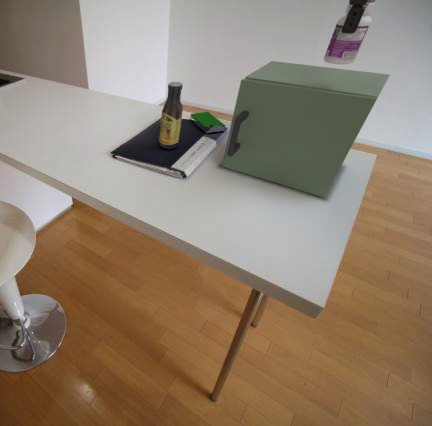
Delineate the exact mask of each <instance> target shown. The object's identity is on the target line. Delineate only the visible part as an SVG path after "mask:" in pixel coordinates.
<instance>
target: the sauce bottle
mask: <svg viewBox="0 0 432 426" xmlns="http://www.w3.org/2000/svg"><path fill="white" fill-rule="evenodd" d="M183 84H184V83H182V82H180V81H170V82H169V83H168V85H167V97H166V100H165V102H164V105H163V107H162V110H161V116H160V127H159V128H160V129H159V137H158V142H160V143H161V144H163V145H173V144H176V143H178V144H179V141H180V135H181V134H180V133H181V128H182V120H183V110H184V106H183V104H182V102H181V98H182V97H181V96H182V90H183Z"/></svg>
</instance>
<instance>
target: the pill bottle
mask: <svg viewBox="0 0 432 426" xmlns="http://www.w3.org/2000/svg"><path fill="white" fill-rule="evenodd" d="M375 5H376V3H375V2H373V3H369V5H368V6H367V7H366V8H363V9H365V11H364V14H363V16H362V18H361V21H360V23H359V25H358V28H357V30H356V31H355V32H354V33H342V28H343V25H344V23H345V20H346V18H347V15H348V13H349V10H350V9H351V8H349V7H350V6H349V3H348V4H347V7H346V9H345V15H343V16H342V17H340V18H339V19H338V20H337V22H336V25H335V27H334V30H333V32H332V35H331V38H330V40H329V43H328V46H327V48H326V51H325V54H324V57H323V61H324V62H325V63H328V64H333V65H349V64H352V63H354V62H355V61H356V59H357V57H358V55H359V52H360V50H361V48H362V45H363V42H364V40H365V38H366V36H367V33H368V32H369V29H370V27H371V25H372V22H373V19H372V17H371V16H369V15H370V14H371V13H372V12H373V10H374V7H375Z"/></svg>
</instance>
